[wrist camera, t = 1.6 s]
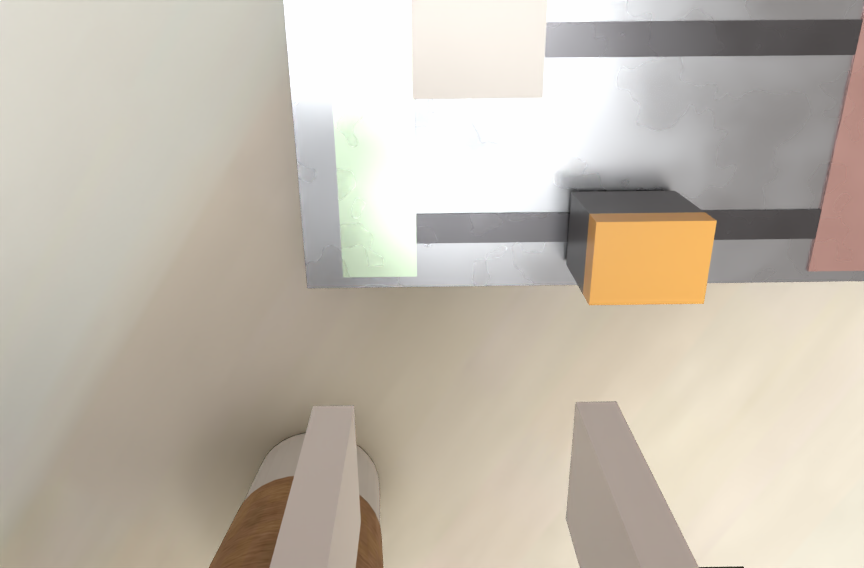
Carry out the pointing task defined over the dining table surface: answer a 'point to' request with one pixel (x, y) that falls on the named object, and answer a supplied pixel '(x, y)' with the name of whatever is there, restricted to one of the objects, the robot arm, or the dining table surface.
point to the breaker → (478, 48)
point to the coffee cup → (265, 505)
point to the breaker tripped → (639, 247)
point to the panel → (582, 141)
